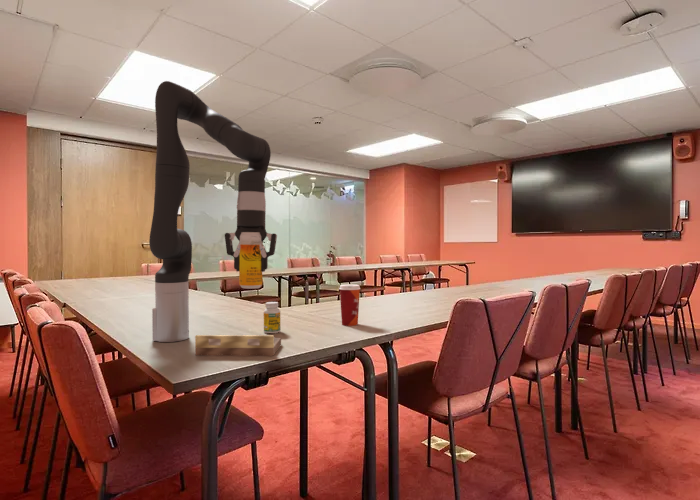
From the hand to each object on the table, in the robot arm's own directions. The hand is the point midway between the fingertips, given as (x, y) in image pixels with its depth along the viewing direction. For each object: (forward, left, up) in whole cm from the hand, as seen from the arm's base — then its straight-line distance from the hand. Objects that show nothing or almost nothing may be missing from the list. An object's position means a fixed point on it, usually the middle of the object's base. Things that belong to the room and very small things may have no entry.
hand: (250, 271), depth 112 cm
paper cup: (+26, +34, -21) cm, 48 cm away
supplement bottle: (+1, +21, -21) cm, 30 cm away
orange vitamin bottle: (0, 0, -5) cm, 5 cm away
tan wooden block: (-3, -1, -21) cm, 21 cm away
